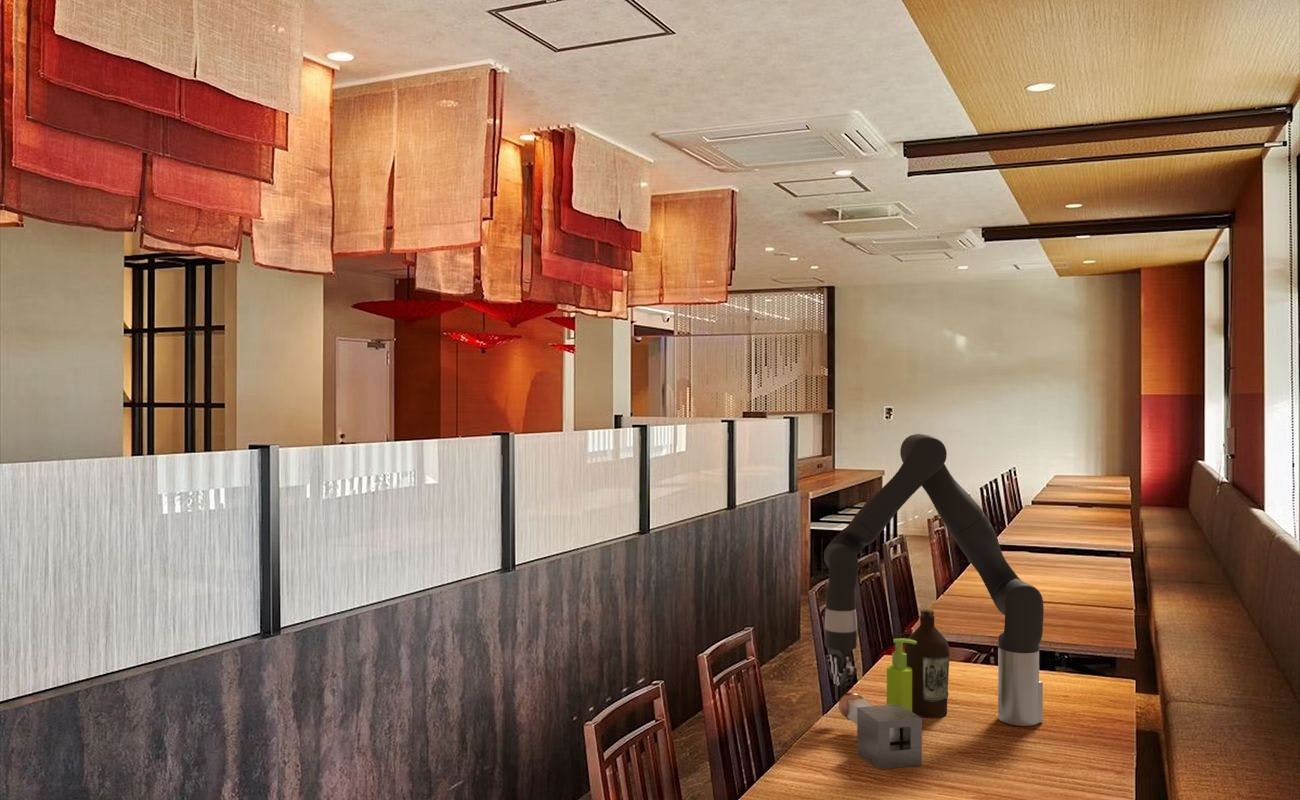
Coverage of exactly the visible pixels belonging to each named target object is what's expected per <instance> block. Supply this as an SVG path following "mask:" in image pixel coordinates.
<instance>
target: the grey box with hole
mask: <svg viewBox="0 0 1300 800" xmlns="http://www.w3.org/2000/svg"><path fill="white" fill-rule="evenodd" d="M856 726H857V727H856V729H857V732H856V736H857V737H856V738H857V740H856V742H857V744H856V746H857V749H856V750H857V751H856V752H857V755H859V756H860V757H861V758H862V759H864V760H865V761H867V763H869V764H871V765H872V766H873V767H874V768H876V770H878V771H879V770H887V769H898V768H909V767H915V766H916V767H918V766H922V765H923V717H920V716H918V715H916V714H915V713H913V712H911V711H910V710H908V709H907V708H905V707H903V706H902V705H900V704H893V705H887V704H885V705H874V706H869V707H857V724H856ZM890 728H900V741H898V742H890Z"/></svg>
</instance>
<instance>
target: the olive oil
mask: <svg viewBox="0 0 1300 800" xmlns="http://www.w3.org/2000/svg"><path fill="white" fill-rule="evenodd" d="M934 614H935V610H933V609H920V616H919V623H920V624H919V626H918V627H917V628H916V629H915V630H914V631H913V632H912V633H911V634H910V635H909V637H908V638H907V639H911V640H915V641H917V643H916V644H911V643H905V646H904V652H905V653H906V654H907V666H908V667H911V668H912V712H913V713H915V714H916V715H918V716H920V717H921V718H925V719H927V718H928V719H935V718H936V719H938V718H944V717H945V716H947V714H948V698H949V673H950V656H951V654H950V653H951V652H950V651H951V650H950V646H949V643H948V641H947V639H946V638H945V637H944V635H942V633H941V632H940V631H939V630H938V629H937V628H936V626H935V616H934Z"/></svg>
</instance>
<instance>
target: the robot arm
mask: <svg viewBox="0 0 1300 800" xmlns="http://www.w3.org/2000/svg"><path fill="white" fill-rule="evenodd" d="M899 451H900V452H899V453H900V454H899V456H900V457H901V462H902V464H901V466H900V468H899V469H898V471H896V473H895V474H894V475H893V477H892V478H891V479H889V481H888V482H887V483H886V484H885V485H884V486H883V487H881V488H880V489H879V490H877V491H876V493H874V494H873V495H872V496H871V497H870V498H869V499H868V500H867V501H866V502H865V503H864V504H863V505H862V507H861V508H860V509H859V510H858V512H856V514H855V515H854V517H853V518H852V519H851V520H850V522H849V523H848V524H847V525H846V527H845V528H844V529H842V530H841V531H840V532H839V533H837V535H836V536H834V538H833V539H832V540H831V541H830V542H829V543H828V545H827V546H826V548H825V550H824V552H823V560H824V563H825V564H826V566H827V567H828V585H827V586H826V589H825V612H824V647H826V648H827V649H829V654H828V655H827V654H826V655H825V661H826V666H827V669H828V673H829V677H830V679H831V680H833V684H834V685H835V686H834V689H835V691H834V693H835V694H834V697H835V699H834V700H836V701H838V703H839V702H840V699H841V698H842V696H843V695H845V694H846V693H847V686H850V685H852V682H853V681H854V679H855V678H854V677H855V675H856V674H857V671H858V669H857V666H853V665H852V661H853V658H852V651H853V650H855V649H857V647H858V616H857V615H858V614H857V595H856V590H857V589H856V587H857V582H858V577H859V576H858V575H859V558H858V554H860V552H861V551H862V550H863V549H864V548H865V547H866V546H868V545H871V544H872V543H873V542H875V540H876V539H877V538H878V537H879V535H880V534H881V533H882V532H883V531H884V529H885V528H886V527H887V525H888V524H889V523H890V522H891V520H892V519H893V517H894V516H895V515H896V514H897V512H899V510H900V509H901V508H903V506H904V505H905V504H906V502H907V501H908V500H909V499H910V498H912V496H913V495H914V494H915V493H916V491H917V490H919V489H920V488H921V487H922V488H923V490H924V491H925V492H926V494H927V495H928V497H929V499H930V501H931V502H932V505H933V506H934V508H935V510H936V512H937V514H938V515H939V517H940V519H941V521H942V522H943V525H945V527H946V529H947V530H948V532H949V533H950V535H951V537H952V539H954V541H955V543H956V544H957V546H958V548H960V550H961V551H962V552H963V554H964V555H965V557H966V558H967V560H968V562H970V564H971V565H972V566H973V568H974V570H976V572H977V574H979V576H980V578H981V580H982V581H983V584H984V586H985V588H986V590H987V591H988V594H989V596H990V598H991V600H992V601H993V603H994V606H995V607H996V608H997V610H998V611H999V612H1000V613H1001V614H1002V615H1004V628H1003V632H1002V633H1001V634H999V636H998V640H997V641H998V643H997V644H998V647H997V648H998V650H997V655H998V659H997V660H998V661H997V663H998V666H997V669H998V670H997V672H998V673H997V680H998V681H997V682H998V683H997V688H998V689H997V693H998V694H997V696H998V697H997V698H998V699H997V704H998V705H997V707H998V708H997V718H998V720H999V721H1000V722H1002V723H1005V724H1009V725H1012V726H1017V727H1019V726H1020V727H1031V726H1036V725H1038V724H1040V723H1043V721H1044V715H1043V714H1044V712H1043V710H1044V709H1043V708H1044V703H1043V702H1044V699H1043V698H1044V697H1043V696H1044V684H1043V682H1042V680H1040V645H1041V640H1042V638H1043V633H1044V611H1045V609H1044V599H1043V595H1042V593H1041V592H1040V590H1039V589H1037V587H1035V586H1033V585H1031V584H1030V583H1027V582H1024V581H1023V580H1022V579H1021V578H1020V577H1019V576H1018V575H1017V573H1016V572H1015V571H1014V569H1012V566H1010V564H1009V563H1008V561H1007V560H1006V558H1005V557H1004V555H1003V552H1002V549H1001V545H1000V542H999V538H998V536H997V533H996V531H995V528H994V526H993V524H992V523H991V522H990V520H989V519H988V517H987V516H986V514H985V513H984V510H983V509H982V508H981V507H980V505H979V504H978V503H977V501H976V500H975V499H974V498H973V497H972V496H971V495H970V494H969V493H968V492H967V490H966V489H964V488H963V487H962V486H961V485H960V484H959V482H957V481H956V479H955V478H954V477H953V475H952V474H951V473H950V471H949V469H948V468H947V466H946V464H945V463H946V460H947V457H948V456H947V454H948V453H947V448H946V446H945V444H944V443H943V441H941V440H940V439H939V438H937V437H935V436H931V435H929V434H923V433H915V434H912V435H909V436H907V437H906V438H905V439H903V441H902V443H901V445H900V449H899Z"/></svg>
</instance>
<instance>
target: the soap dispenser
mask: <svg viewBox="0 0 1300 800" xmlns="http://www.w3.org/2000/svg"><path fill="white" fill-rule="evenodd" d="M892 640H893V644H895V650H894V652H892V653H891V665H888V666H886V705H893V704H900V705H902V706H903V707H905V708H907V709H908V710H910V711H911V712H912V668H911V667H908V666H907V654H906V653H905V651H904V644H906V643H911V644H916V643H917V641H915V640H911V639H908V638H905V637H904V638H903V637H902V638H893V639H892Z"/></svg>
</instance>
